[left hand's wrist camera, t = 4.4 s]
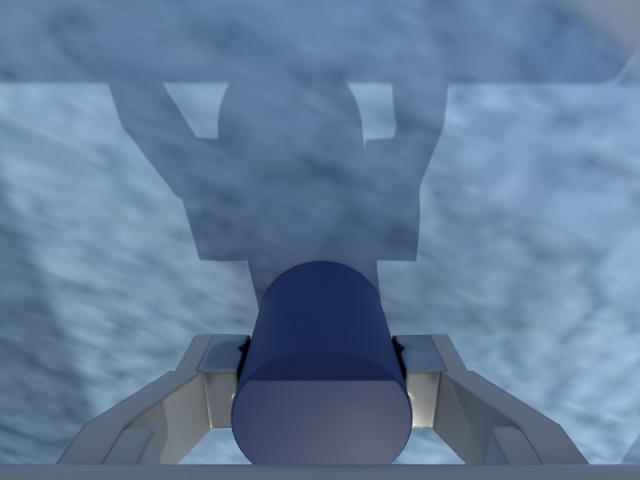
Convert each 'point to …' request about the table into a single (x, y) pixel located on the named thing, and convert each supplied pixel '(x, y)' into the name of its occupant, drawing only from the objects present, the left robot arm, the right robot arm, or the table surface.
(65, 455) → the left robot arm
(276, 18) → the table surface
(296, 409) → the canister
